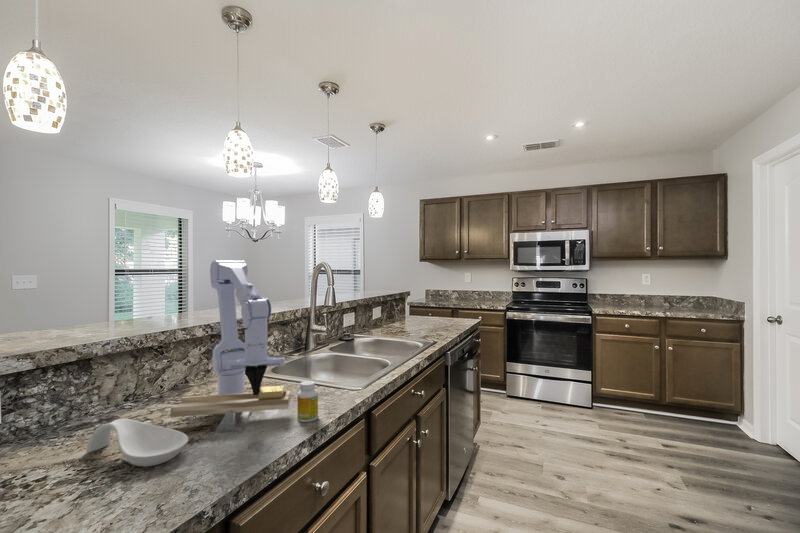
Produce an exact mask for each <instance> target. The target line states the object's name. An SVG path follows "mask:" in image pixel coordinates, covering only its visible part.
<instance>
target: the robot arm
mask: <svg viewBox="0 0 800 533" xmlns="http://www.w3.org/2000/svg"><path fill="white" fill-rule="evenodd" d="M248 268H249V267H248V264H247V262H246V261H245V260H243V259H241V260H219V259H218V260H217V259H213V261H211V263H210V267H209V274H210V276H209V277H210V284H211V287H212V289H215V290H216V292H217V297H218V310H219V312H218V313H219V322H220V324H219V325H220V333H221V334H220V335H221V336H220V337H221V341H220V342H219V343H218V344H217V345H215V347H214V348H213V350H212V357H211V366H212V367H211V368H212V370H213V372H214V373H215V374H217V375H218V377H217V378H218V379H217V380H218V381H217V382H218V383H217V385H218V387H217V389H218V390H217V395H220V394H235V393H249V392H246V389H245V388H246V382H245V381H246V377H247V379H248V382H249V383H250V386H251V390H252V392H253V395H259V391H260V389H261V387H262V381H263V378H264V376H265V373H266V371H267V369H268V367H276V366H277V367H284V366H285V362H286V359H285V357H284V356H282V357H275V356H274V357H272V356H271V357H270V356H269V355H268V352H269V350H268V348H269V347H268V320H269V319H270V318H271V315H272V304H271V302H270V299H269V298H267V297H262V295H261V293H260V292H259V290H258V289H257V288H256V286H255V285H254V284H253V283H252V282H251V283H250V282H249V280H248V277H247V276H248ZM235 297H236V298H235ZM236 299H237V300H238V302H239V305H240V307H241V309H240V312H241V314H240V315H241V317H242V326H243V328H244V342H243V341H242V340H240V339H239V331H238V330H239V329H238V320H237V319H238V318H237V308H236ZM268 356H269V357H268Z"/></svg>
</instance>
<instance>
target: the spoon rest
mask: <svg viewBox="0 0 800 533" xmlns="http://www.w3.org/2000/svg"><path fill="white" fill-rule="evenodd" d="M112 429H113V430H114V431H115V433H116V438H117V444H118V448H119V450H120V452H121V454H122V456H123V458H124V459H125V460H126V461H127V462H128V463H130V464H131V465H133V466H137V467H141V466H143V467H145V468H147V466H149V467H154V466H157V465H160V464H163V463H164V464H165V463H166V462H168V461H170V460H172V459H174V458H175V457H176V456H178V455H179V454H180V453H182V451H183V450H184V448H185V447H186V446H187V445H188V443H189V436H188V435H187V433H184V432H183V431H181V430H180V431H179V430H176V429H172V428H167V427H163V426H159V425H154V424H151V423H147V422H143V421H138V420H135V419H130V418H118V419H115V420H113V421H111V422H108V423H104V424H101V425H100V426H98V427H97V428H96V429H95V430H94V431H93V433H92V434H91V436H90V438H89V439H88V441H87V445H86V449H85V450H86V453H88V454H89V453H93V452H96V451H98V450H100V449H102V448H106V447H108V446H109V445H110V442H111V437H110V436H111V430H112ZM143 467H142V468H143Z"/></svg>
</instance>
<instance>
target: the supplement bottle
mask: <svg viewBox="0 0 800 533" xmlns="http://www.w3.org/2000/svg"><path fill="white" fill-rule="evenodd" d="M318 417H319V391H318V390H317V389H316V382H315V381H313V380H304V381H301V382H300V383H299V391H298V392H297V420H298V421H299V422H301V423H308V422H309V423H310V422H314V421H315V420H317V419H318Z"/></svg>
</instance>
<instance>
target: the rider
mask: <svg viewBox="0 0 800 533" xmlns="http://www.w3.org/2000/svg"><path fill="white" fill-rule="evenodd" d="M284 390H285V385H275V386H274V385H272V386H271V385H270V386H260V391H259V400H270V399H283V398H284Z"/></svg>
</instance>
